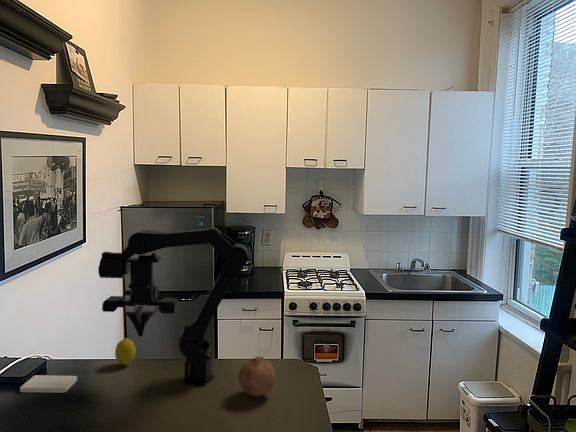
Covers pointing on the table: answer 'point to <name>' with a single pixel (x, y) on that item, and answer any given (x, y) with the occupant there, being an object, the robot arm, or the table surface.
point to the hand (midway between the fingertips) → (141, 336)
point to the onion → (257, 376)
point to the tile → (48, 384)
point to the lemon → (125, 351)
